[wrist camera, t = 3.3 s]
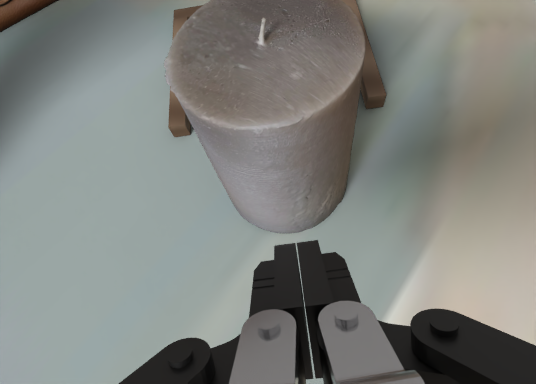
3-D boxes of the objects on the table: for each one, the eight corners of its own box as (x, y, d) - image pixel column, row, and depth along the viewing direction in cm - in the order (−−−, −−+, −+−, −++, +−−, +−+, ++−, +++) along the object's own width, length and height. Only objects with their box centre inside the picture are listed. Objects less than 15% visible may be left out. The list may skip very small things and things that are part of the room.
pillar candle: (315, 116, 31) (313, -69, 18) (368, 207, 27) (418, 51, 13) (213, 156, 31) (133, -4, 17) (250, 256, 26) (180, 143, 13)
